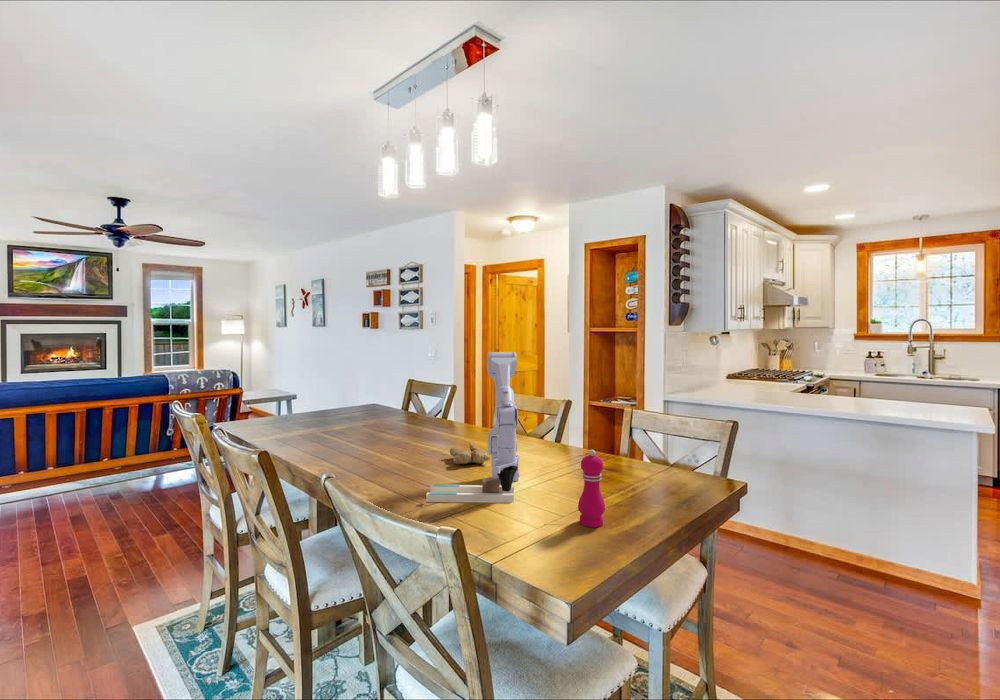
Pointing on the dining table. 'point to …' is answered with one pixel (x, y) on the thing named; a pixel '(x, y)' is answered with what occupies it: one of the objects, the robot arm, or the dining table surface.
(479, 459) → the ginger root
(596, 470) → the pepper mill
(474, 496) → the chute
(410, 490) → the dining table surface
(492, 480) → the walnut block
